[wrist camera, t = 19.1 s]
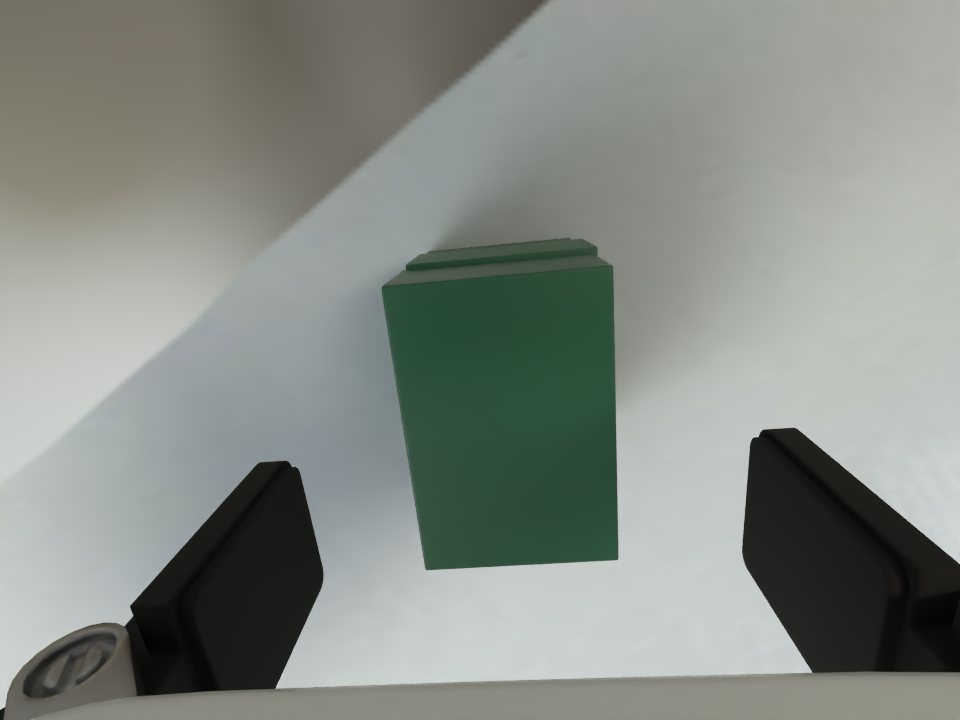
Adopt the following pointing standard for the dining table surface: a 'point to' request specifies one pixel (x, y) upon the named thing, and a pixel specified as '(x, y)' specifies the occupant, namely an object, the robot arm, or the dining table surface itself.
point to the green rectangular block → (509, 409)
